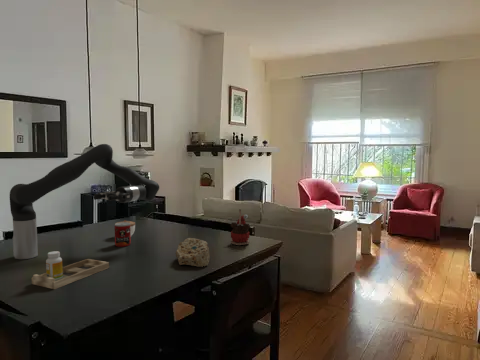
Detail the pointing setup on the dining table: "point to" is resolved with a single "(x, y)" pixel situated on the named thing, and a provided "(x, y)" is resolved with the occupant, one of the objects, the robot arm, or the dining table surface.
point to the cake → (240, 231)
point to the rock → (193, 252)
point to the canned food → (122, 234)
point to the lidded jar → (132, 226)
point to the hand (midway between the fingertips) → (101, 197)
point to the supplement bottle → (54, 265)
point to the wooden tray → (71, 273)
